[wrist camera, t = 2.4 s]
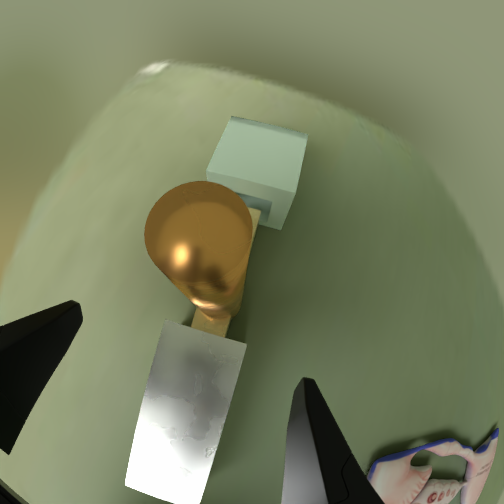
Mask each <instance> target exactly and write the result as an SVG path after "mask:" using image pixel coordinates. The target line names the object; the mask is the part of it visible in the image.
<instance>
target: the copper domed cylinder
mask: <svg viewBox="0 0 504 504" xmlns="http://www.w3.org/2000/svg"><path fill="white" fill-rule="evenodd" d="M260 214H261V210H257V209H253V208H249V207H247V205H246V204H245V202H244V201H243V200H242V198H241V197H240V196H239V195H238V194H236V193H235V192H234V191H233V190H231V189H229V188H228V187H226V186H223V185H221V184H218V183H214V182H208V181H195V182H189V183H186V184H182V185H180V186H177V187H175V188H173V189H172V190H170V191H168V192H167V193H166V194H164V195H163V196H162V197H161V198H160V199H159V200H158V201H157V202H156V203H155V205H154V206H153V208H152V209H151V211H150V213H149V215H148V218H147V221H146V225H145V233H144V236H145V244H146V248H147V251H148V254H149V256H150V258H151V259H152V261H153V262H154V264H155V265H156V266H157V267H158V268H159V269H160V270H161V271H162V272H163V273H164V274H165V275H166V276H167V277H168V278H169V279H170V280H171V282H172V283H173V284H174V285H175V286H176V287H177V288H178V289H179V290H180V291H181V292H182V293H183V294H184V295H185V296H186V297H187V298H188V299H189V300H190V301H191V302H192V303H193V304H194V305H196V306H197V308H196V311H195V315H194V318H193V321H192V325H191V328H194V329H197V330H200V331H204V332H207V333H210V334H213V335H217V336H220V337H224V338H226V335H227V332H228V328H229V325H230V321H231V319H232V318H233V317H235V316H236V315H237V313H238V312H239V310H240V307H241V302H242V296H243V290H244V284H245V278H246V272H247V266H248V260H249V255H250V252H251V248H252V245H253V241H254V238H255V234H256V231H257V227H258V224H259V219H260Z"/></svg>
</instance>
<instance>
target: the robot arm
mask: <svg viewBox="0 0 504 504" xmlns="http://www.w3.org/2000/svg"><path fill="white" fill-rule="evenodd" d="M82 322H83V316H82V311H81V306H80V304H79V303H78V302H76V301H73V300H70V301H67V302H64V303H61V304H59V305H56V306H53V307H50V308H48V309H45V310H42V311H40V312H37V313H34V314H32V315H29V316H26V317H24V318H21V319H18V320H16V321H13V322H10V323H8V324H5V325H4V326H3V325H2V326H0V449H2V450H3V451H4V452H5V453H7V454H8V455H9V454H10V452H11V450H12V448H13V446H14V444H15V442H16V440H17V438H18V436H19V434H20V432H21V430H22V428H23V426H24V424H25V422H26V420H27V418H28V416H29V414H30V412H31V410H32V408H33V407H34V405H35V403H36V401H37V399H38V398H39V396H40V394H41V392H42V391H43V389H44V387H45V386H46V384H47V382H48V381H49V379H50V377H51V376H52V374H53V373H54V371H55V369H56V368H57V366H58V365H59V363H60V361H61V360H62V358H63V357H64V355H65V354H66V352H67V350H68V349H69V347H70V345H71V343H72V341H73V339H74V337H75V335H76V333H77V332H78V330H79V328H80V326H81V324H82ZM0 504H29V503H28V502H26V501H25V500H24V499H23V498H22V497H20V496H19V495H18V494H17V493H16V492H14V491H13V490H12V489H11V488H10V487H9V486H8V485H7V484H5V483H4V482H3V481H2V480H1V479H0ZM281 504H385V503H384V502H383V500H382V499H381V497H380V496H379V495H378V493H377V492H376V491H375V489H374V488H373V486H372V485H371V483H370V482H369V481H368V479H367V478H366V476H365V474H364V473H363V471H362V470H361V468H360V466H359V464H358V463H357V461H356V459H355V457H354V455H353V453H352V451H351V450H350V448H349V446H348V444H347V442H346V440H345V438H344V436H343V434H342V432H341V430H340V428H339V426H338V425H337V423H336V421H335V419H334V417H333V415H332V413H331V411H330V409H329V407H328V405H327V403H326V401H325V399H324V398H323V396H322V394H321V392H320V390H319V388H318V386H317V384H316V382H315V380H314V379H312V378H306V377H303V378H302V379H301V381H300V382H299V384H298V385H297V387H296V389H295V391H294V394H293V400H292V406H291V411H290V417H289V422H288V428H287V439H286V454H285V468H284V480H283V491H282V502H281Z"/></svg>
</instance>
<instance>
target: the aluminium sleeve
mask: <svg viewBox="0 0 504 504" xmlns="http://www.w3.org/2000/svg"><path fill="white" fill-rule="evenodd" d="M246 347H247V344H245V343H242V342H238V341H234V340H231V339H227V338H224V337H220V336H217V335H213V334H210V333H207V332H204V331H200V330H197V329H194V328H191V327H188V326H185V325H182V324H179V323H176V322H173V321H170V320H167V319H165V322H164V325H163V328H162V332H161V335H160V338H159V342H158V345H157V349H156V352H155V356H154V359H153V363H152V366H151V370H150V374H149V378H148V381H147V385H146V389H145V393H144V397H143V401H142V405H141V410H140V414H139V418H138V422H137V427H136V431H135V436H134V441H133V446H132V451H131V456H130V461H129V466H128V472H127V477H126V483H125V485H127V486H129V487H132V488H134V489H136V490H139V491H141V492H144V493H146V494H149V495H152V496H154V497H157V498H160V499H163V500H166V501H169V502H172V503H175V504H200V501H201V498H202V495H203V491H204V488H205V485H206V482H207V479H208V476H209V473H210V469H211V466H212V463H213V460H214V456H215V453H216V450H217V447H218V443H219V440H220V437H221V433H222V430H223V427H224V423H225V420H226V417H227V413H228V410H229V406H230V403H231V400H232V396H233V393H234V389H235V386H236V382H237V379H238V375H239V372H240V368H241V365H242V361H243V358H244V354H245V350H246Z"/></svg>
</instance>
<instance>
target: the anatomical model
mask: <svg viewBox="0 0 504 504" xmlns="http://www.w3.org/2000/svg"><path fill="white" fill-rule="evenodd" d="M498 433H499V428H497V429H496V430H495V431H494V432H493V433H492V434H491V435H490V437H489V438H488V439H487V440H486V441H485V442H484V443H483V444H482V445H481V446H479V447H478V448H477V449H476V450H475V451H474V452H473V449H472V447H470V446H465V445H462V444H460V443H459V442H458V441H457V440H455V439H453V438H447V439H441V440H437V441H435V442H432V443H428V444H425V445H422V446H419V447H416V448H412V449H409V450H405V451H402V452H398V453H394V454H390V455H387V456H384V457H382V458H380V459H378V460H376V461H375V462H374V463H373V464H372V466H371V468H370V471H369V473H368V475H367V479H368V481H369V482H370V483H371V485H372V486H373V488H374V489H375V491H376V492H377V493H378V495H379V496H380V497H381V499H382V500H383V502H384V503H385V504H448V503H449V502H450V501H451V500H452V499H453V498H454V497H455V495H456V494H457V493H458V491H459V490H460V489H461V503H460V504H475V503H476V501H477V500H478V498H479V496H480V493H481V491H482V489H483V487H484V484H485V482H486V479H487V477H488V474H489V471H490V468H491V466H492V463H493V459H494V456H495V452H496V447H497V441H498ZM421 449H425V450H428V451H431V452H433V453H435V454H437V455H439V456H447V455H453V454H456V455H460V456H462V457H463V458H464V459H466V460H467V461H468V463H467V467H466V473H465V477H464V480H463V482H461V483H459V482H458V481H457V480H455V479H450V480H444V479H441V480H438V479H430V480H428V479H429V477H430V475H431V472H432V466H431V465H425V466H419V467H418V466H416V467H415V466H411V464H410V462H411V459H412V457H413V456H414V455H415V454H416V453H417V452H418V451H420V450H421ZM427 480H428V481H427ZM466 480H467V481H466Z"/></svg>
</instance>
